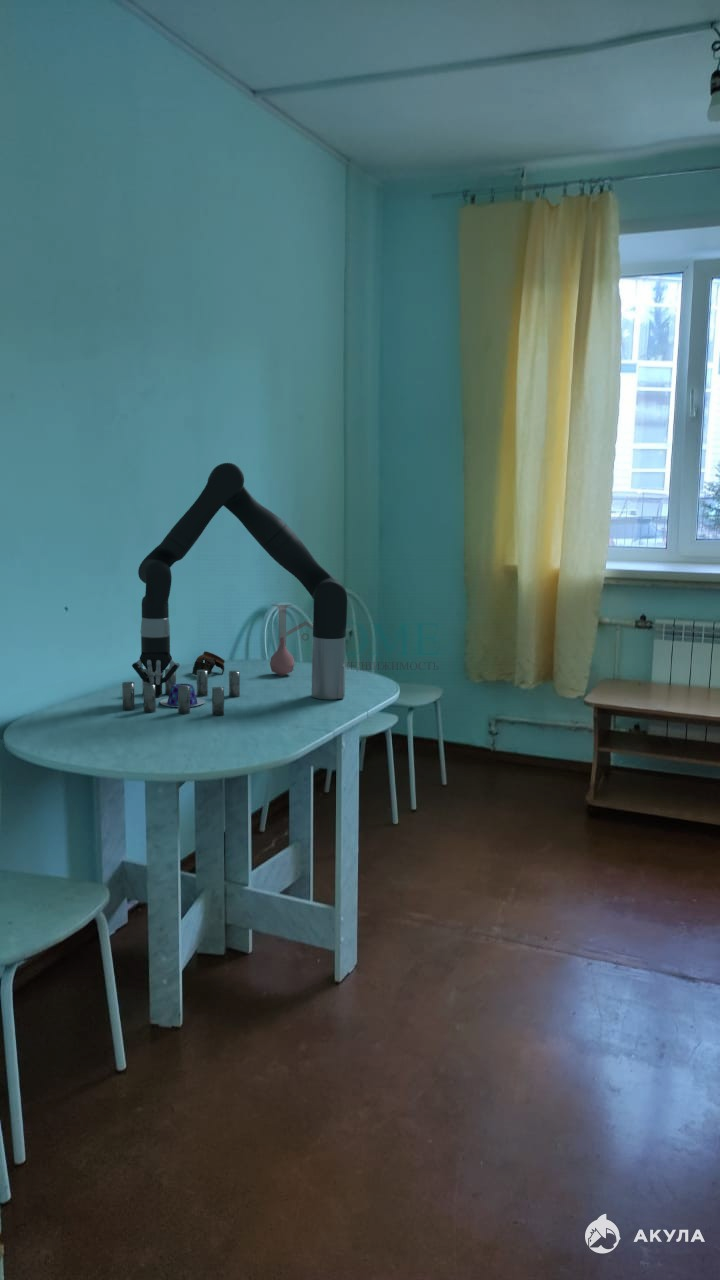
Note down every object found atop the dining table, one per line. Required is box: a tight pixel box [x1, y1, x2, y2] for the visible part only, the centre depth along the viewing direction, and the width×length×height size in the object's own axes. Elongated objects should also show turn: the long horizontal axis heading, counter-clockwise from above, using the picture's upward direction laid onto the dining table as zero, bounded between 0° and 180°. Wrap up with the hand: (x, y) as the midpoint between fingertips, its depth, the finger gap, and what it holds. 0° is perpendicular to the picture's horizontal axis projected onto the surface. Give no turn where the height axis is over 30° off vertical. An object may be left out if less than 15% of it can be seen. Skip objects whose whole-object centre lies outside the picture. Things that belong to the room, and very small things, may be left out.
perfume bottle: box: [269, 636, 295, 677], centre depth 290 cm, size 8×8×12 cm
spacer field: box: [121, 668, 241, 717], centre depth 249 cm, size 27×25×7 cm
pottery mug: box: [191, 651, 226, 676], centre depth 288 cm, size 12×10×8 cm
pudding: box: [159, 683, 206, 708], centre depth 249 cm, size 12×12×5 cm
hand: (156, 697), depth 250 cm, fingers closed
